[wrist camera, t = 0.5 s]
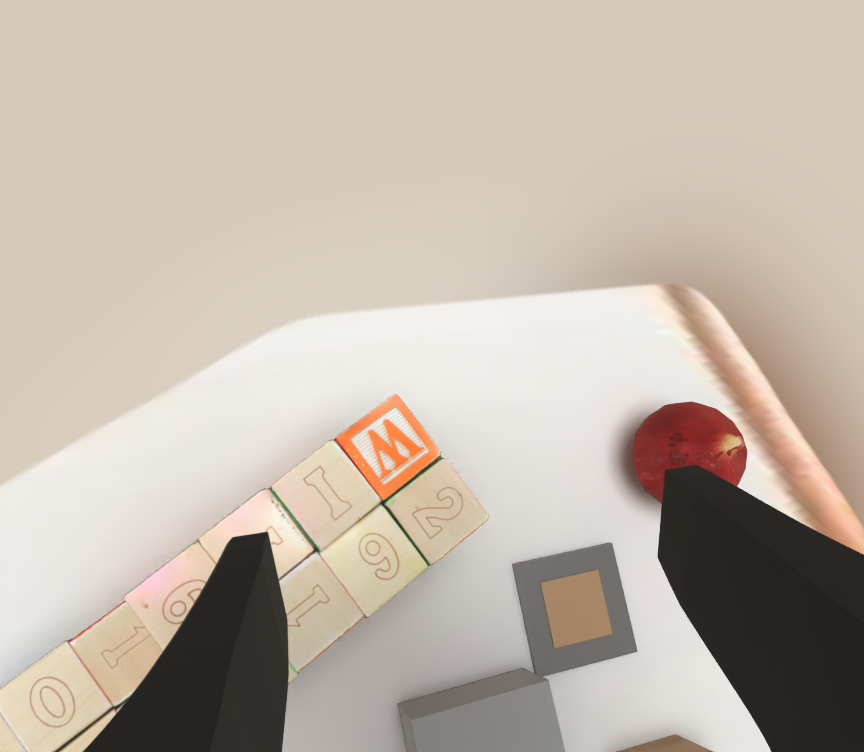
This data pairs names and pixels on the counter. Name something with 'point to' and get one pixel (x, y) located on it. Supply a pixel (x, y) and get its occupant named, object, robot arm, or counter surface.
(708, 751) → the walnut block
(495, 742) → the slate base block
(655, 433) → the onion
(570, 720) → the counter surface
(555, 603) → the card
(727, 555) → the robot arm
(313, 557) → the stack of blocks
